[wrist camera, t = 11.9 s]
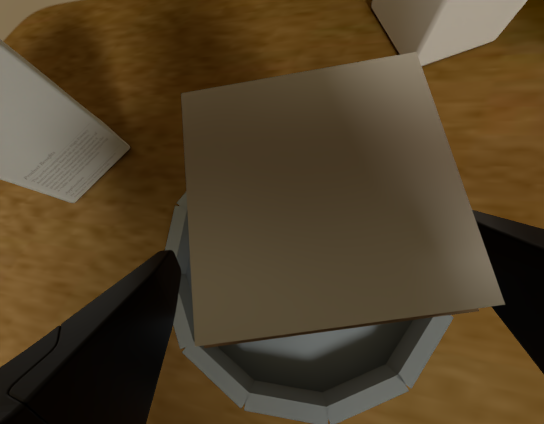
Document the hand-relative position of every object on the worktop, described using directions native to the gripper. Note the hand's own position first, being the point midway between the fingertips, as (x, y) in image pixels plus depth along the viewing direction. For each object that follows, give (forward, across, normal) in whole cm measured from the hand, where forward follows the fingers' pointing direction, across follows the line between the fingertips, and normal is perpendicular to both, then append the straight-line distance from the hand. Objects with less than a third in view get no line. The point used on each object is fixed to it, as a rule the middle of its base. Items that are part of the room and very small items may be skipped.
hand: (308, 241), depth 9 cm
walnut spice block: (+6, 0, +6) cm, 8 cm away
